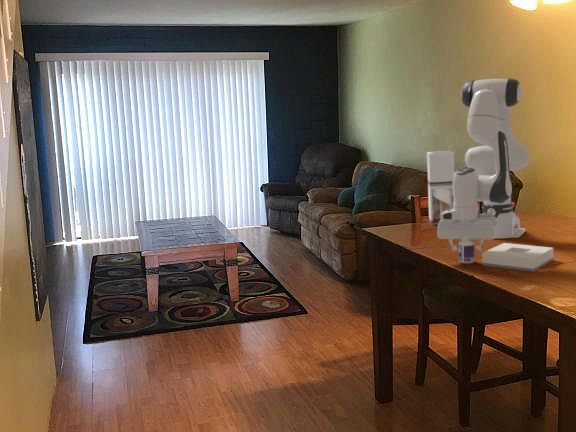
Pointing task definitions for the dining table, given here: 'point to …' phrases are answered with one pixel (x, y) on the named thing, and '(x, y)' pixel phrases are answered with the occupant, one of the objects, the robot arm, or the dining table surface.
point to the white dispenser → (439, 183)
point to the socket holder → (517, 257)
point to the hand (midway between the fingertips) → (466, 250)
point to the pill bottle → (466, 250)
